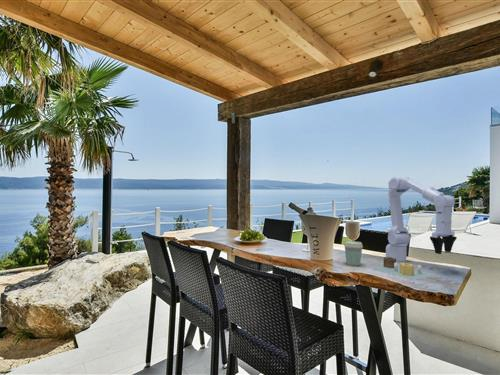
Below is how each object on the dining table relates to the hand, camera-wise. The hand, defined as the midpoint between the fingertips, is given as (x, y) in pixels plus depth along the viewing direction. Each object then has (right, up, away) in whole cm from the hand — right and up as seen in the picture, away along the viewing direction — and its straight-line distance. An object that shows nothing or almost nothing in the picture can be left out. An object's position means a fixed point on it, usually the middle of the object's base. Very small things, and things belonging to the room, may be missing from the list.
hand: (443, 252), depth 135 cm
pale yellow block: (-19, -8, -5) cm, 21 cm away
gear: (-21, -8, +7) cm, 23 cm away
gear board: (-19, -10, 0) cm, 21 cm away
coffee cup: (-36, -10, +11) cm, 39 cm away
